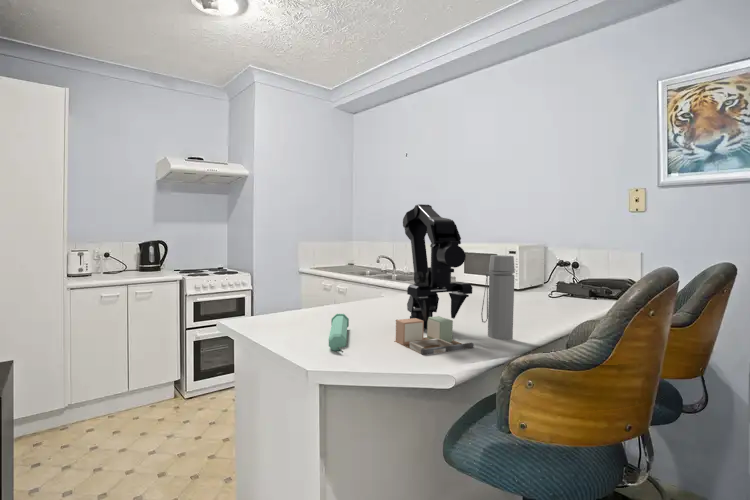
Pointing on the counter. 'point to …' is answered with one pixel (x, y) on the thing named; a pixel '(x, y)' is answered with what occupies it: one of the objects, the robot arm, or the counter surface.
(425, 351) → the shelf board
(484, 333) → the counter surface
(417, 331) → the rust box
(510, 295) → the water bottle
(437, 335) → the tea box
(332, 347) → the container
